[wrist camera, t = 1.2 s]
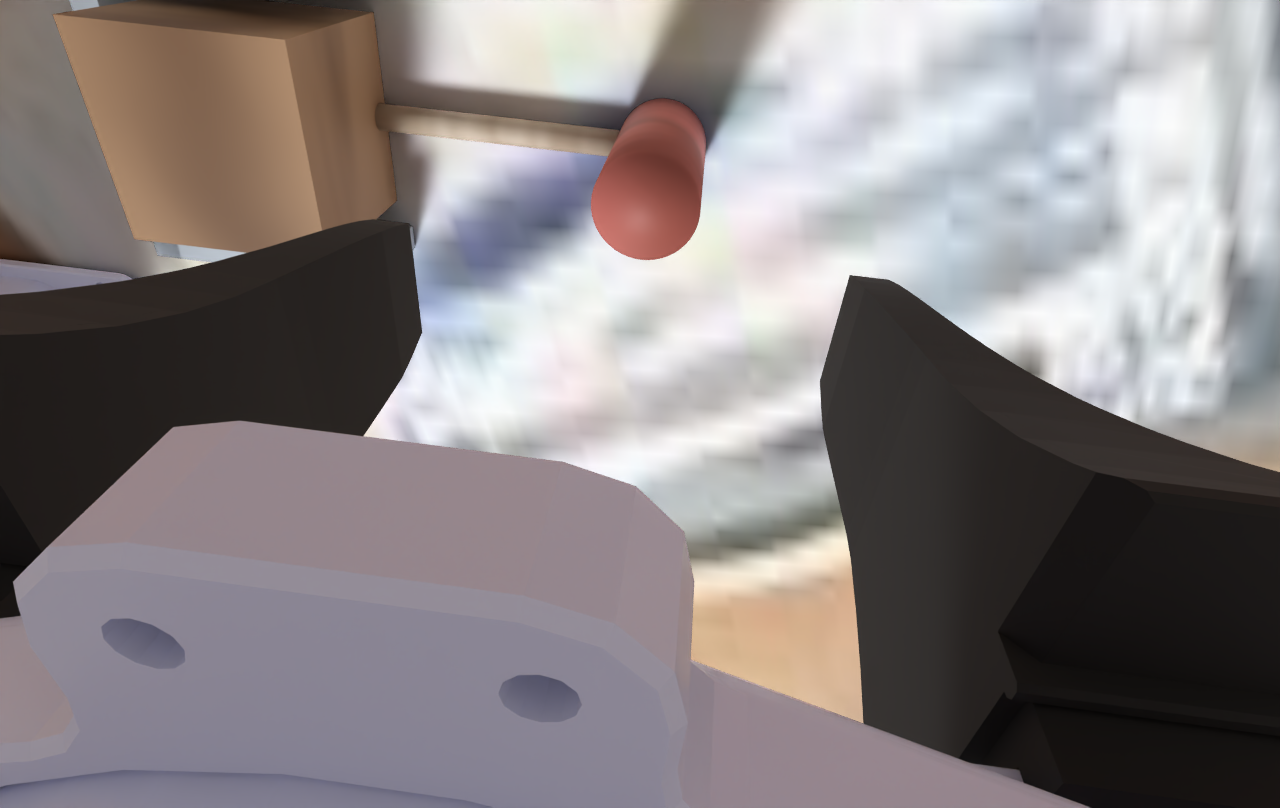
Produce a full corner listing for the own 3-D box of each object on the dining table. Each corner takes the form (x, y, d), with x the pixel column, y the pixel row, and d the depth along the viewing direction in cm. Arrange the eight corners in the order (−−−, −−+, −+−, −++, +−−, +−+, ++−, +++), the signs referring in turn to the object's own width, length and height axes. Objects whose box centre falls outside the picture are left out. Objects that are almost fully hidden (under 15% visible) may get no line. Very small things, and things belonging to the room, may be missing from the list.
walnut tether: (235, 181, 21) (120, 247, 17) (186, -8, 18) (33, 17, 14) (694, 235, 21) (685, 315, 17) (718, 49, 18) (716, 93, 14)
